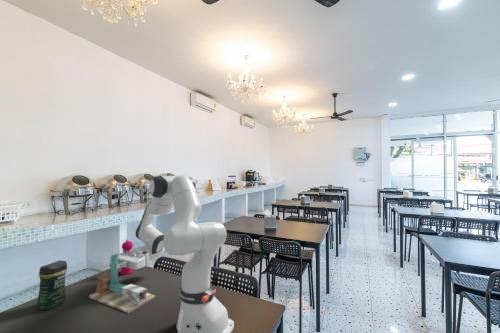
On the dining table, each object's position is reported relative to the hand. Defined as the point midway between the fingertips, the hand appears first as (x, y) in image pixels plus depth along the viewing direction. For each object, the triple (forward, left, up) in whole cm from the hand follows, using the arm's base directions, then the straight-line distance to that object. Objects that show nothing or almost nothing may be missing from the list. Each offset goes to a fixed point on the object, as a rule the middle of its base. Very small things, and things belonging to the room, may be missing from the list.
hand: (112, 265), depth 112 cm
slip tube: (-3, -1, -11) cm, 12 cm away
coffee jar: (+16, +17, -14) cm, 27 cm away
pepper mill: (+18, -21, -14) cm, 31 cm away
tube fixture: (-6, -1, -14) cm, 15 cm away
